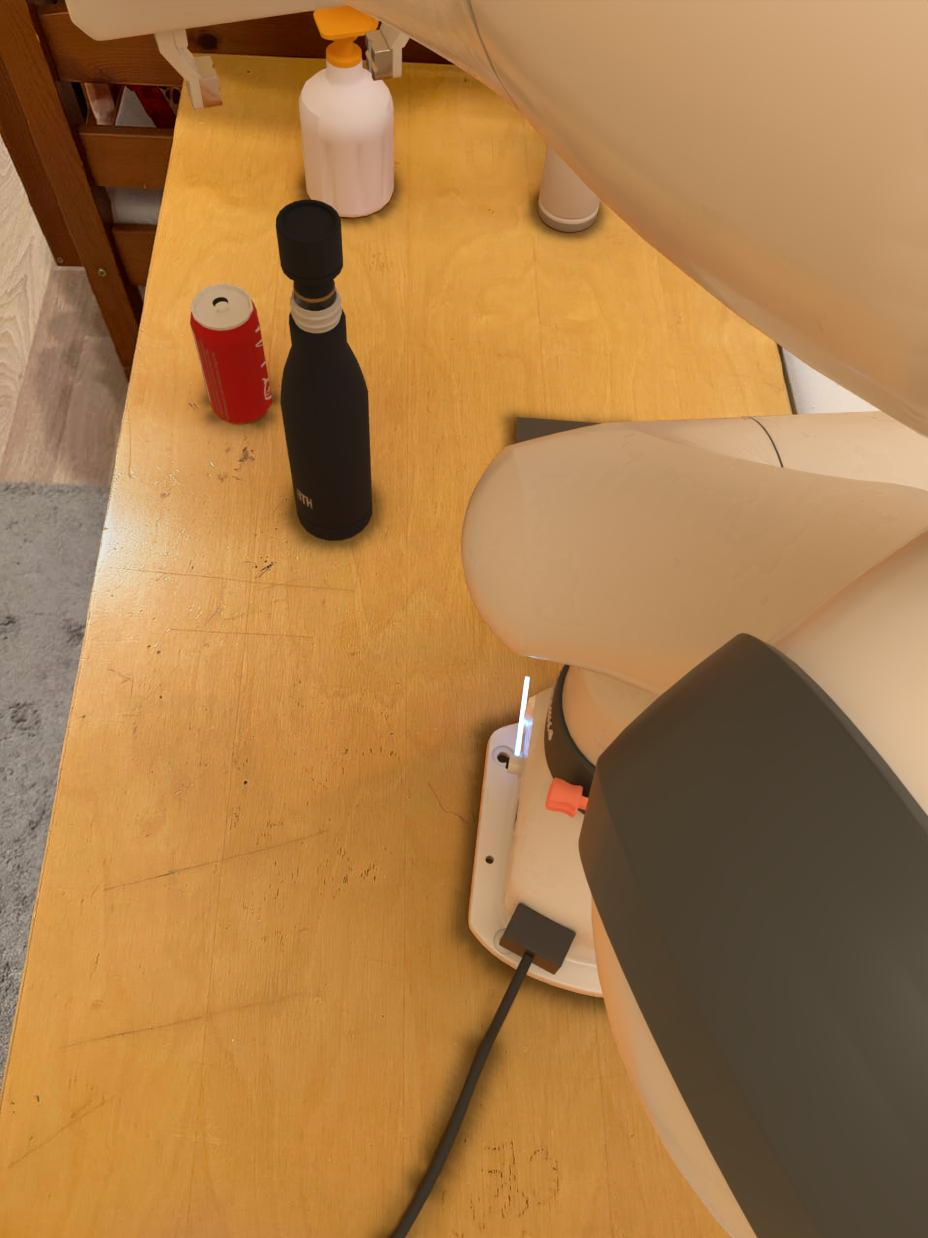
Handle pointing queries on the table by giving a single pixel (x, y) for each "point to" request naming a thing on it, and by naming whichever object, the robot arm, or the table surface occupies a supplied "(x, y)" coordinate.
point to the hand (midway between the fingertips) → (296, 86)
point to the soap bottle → (347, 122)
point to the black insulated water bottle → (322, 380)
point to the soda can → (231, 352)
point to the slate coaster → (544, 427)
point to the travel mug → (565, 197)
